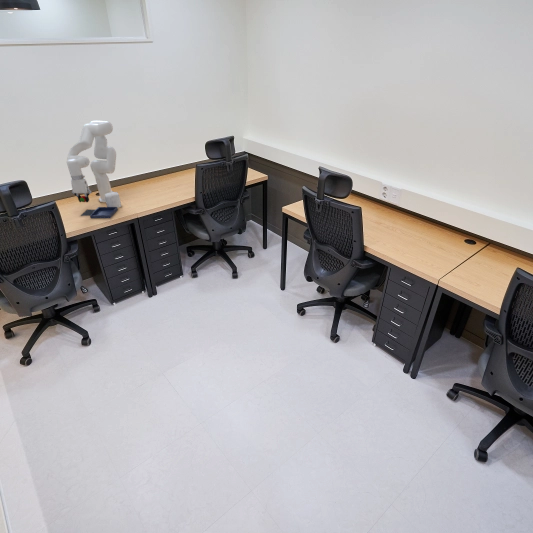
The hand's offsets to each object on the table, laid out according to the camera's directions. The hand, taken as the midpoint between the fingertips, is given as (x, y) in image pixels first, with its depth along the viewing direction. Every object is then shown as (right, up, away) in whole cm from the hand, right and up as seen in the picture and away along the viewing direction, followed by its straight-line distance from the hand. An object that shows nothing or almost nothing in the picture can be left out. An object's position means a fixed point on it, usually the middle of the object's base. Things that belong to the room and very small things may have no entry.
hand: (84, 201), depth 258 cm
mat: (0, -8, +6) cm, 10 cm away
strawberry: (0, 0, +1) cm, 1 cm away
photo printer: (+16, -2, +14) cm, 22 cm away
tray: (+13, -9, +4) cm, 16 cm away
